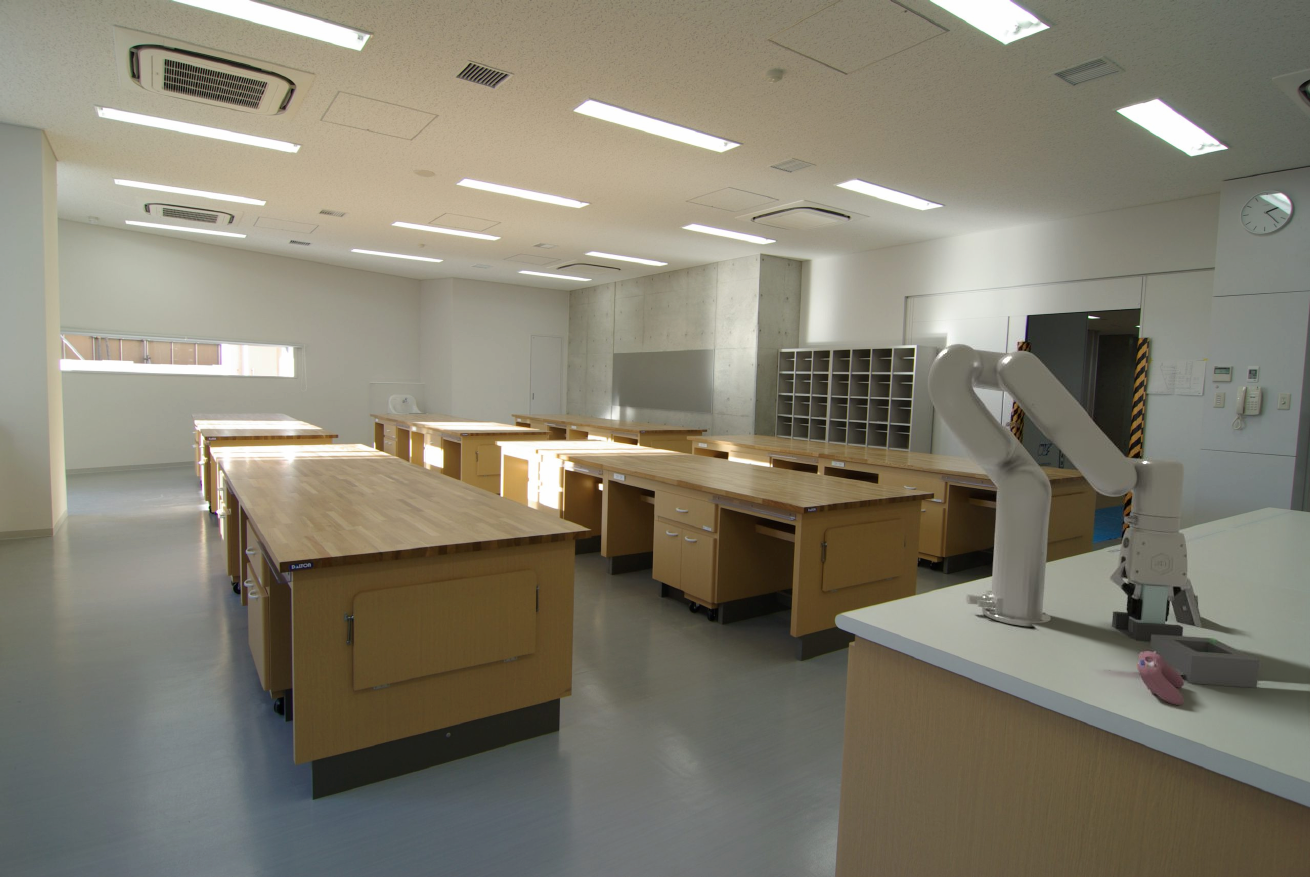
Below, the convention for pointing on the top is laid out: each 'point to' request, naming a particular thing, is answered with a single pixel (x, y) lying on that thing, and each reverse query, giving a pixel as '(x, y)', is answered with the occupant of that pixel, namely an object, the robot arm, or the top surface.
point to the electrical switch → (1187, 607)
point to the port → (1206, 660)
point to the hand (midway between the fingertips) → (1147, 617)
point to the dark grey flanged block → (1143, 628)
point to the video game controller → (1160, 677)
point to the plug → (1152, 605)
